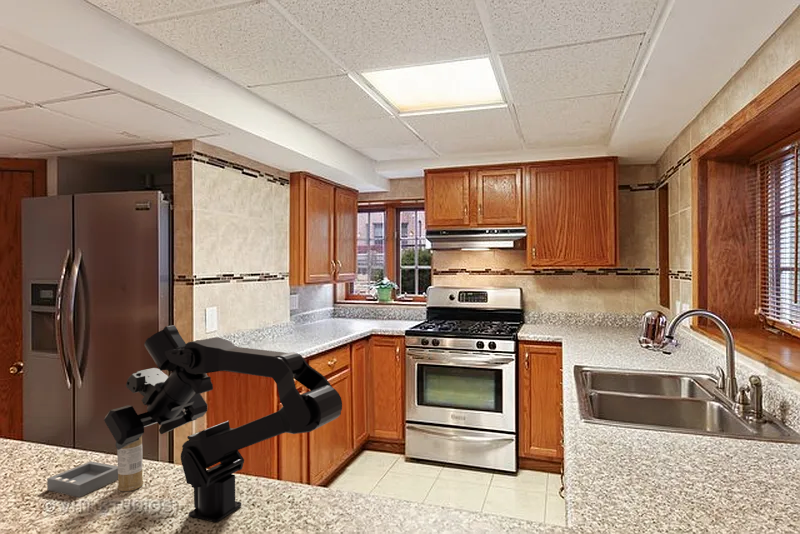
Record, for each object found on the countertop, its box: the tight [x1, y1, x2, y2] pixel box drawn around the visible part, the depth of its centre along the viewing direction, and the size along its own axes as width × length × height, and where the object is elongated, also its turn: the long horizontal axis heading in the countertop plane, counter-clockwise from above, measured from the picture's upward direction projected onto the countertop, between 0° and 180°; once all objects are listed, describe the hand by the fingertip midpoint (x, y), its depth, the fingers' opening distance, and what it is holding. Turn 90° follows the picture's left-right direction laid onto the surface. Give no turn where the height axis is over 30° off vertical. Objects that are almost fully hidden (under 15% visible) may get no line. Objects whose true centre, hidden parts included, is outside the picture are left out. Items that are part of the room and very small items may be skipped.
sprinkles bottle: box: [116, 435, 144, 492], centre depth 97 cm, size 5×5×14 cm
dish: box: [46, 460, 118, 498], centre depth 99 cm, size 9×9×2 cm
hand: (139, 439), depth 96 cm, fingers open, 9 cm apart
